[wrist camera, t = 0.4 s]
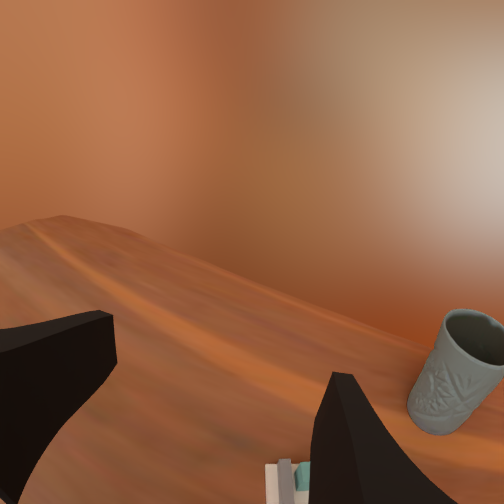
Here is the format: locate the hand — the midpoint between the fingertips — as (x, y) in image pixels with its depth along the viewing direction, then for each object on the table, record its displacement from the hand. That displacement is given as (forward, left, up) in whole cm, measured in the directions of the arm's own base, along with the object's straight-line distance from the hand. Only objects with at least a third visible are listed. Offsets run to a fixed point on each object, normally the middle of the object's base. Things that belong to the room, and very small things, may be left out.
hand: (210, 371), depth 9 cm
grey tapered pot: (+11, -25, -19) cm, 34 cm away
